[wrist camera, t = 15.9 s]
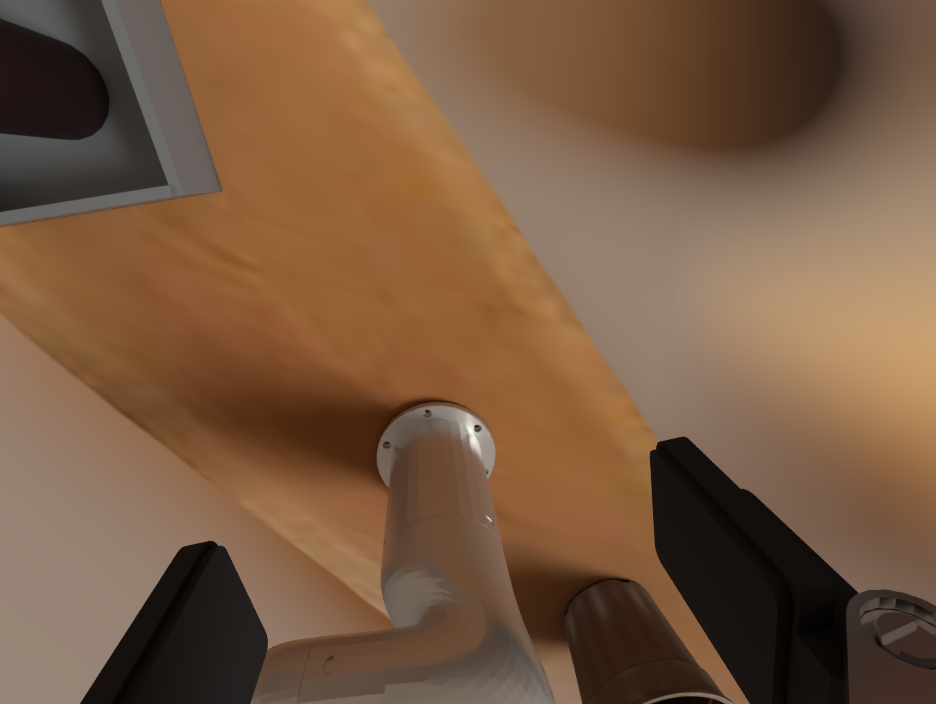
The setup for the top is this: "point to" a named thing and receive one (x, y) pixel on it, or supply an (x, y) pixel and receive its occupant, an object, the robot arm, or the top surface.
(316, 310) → the top surface
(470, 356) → the top surface
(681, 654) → the plant pot
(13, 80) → the vinegar
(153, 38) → the tote
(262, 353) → the top surface
